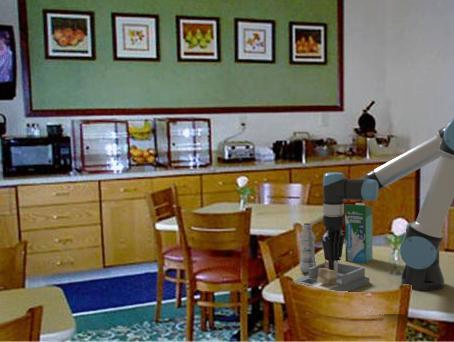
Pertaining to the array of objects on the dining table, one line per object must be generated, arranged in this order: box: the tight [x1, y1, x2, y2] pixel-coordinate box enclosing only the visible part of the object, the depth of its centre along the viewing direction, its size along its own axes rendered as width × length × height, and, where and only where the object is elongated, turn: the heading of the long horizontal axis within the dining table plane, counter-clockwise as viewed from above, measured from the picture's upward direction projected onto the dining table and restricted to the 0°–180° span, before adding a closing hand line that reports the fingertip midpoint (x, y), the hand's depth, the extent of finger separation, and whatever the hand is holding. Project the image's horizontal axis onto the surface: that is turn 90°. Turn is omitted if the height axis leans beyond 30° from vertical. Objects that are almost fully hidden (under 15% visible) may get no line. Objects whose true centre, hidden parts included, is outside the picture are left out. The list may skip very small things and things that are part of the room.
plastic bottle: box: [298, 222, 317, 274], centre depth 234 cm, size 6×7×20 cm
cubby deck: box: [293, 262, 370, 292], centre depth 218 cm, size 20×22×6 cm
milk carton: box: [344, 202, 373, 264], centre depth 251 cm, size 9×9×25 cm
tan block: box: [324, 260, 329, 269], centre depth 225 cm, size 4×4×5 cm
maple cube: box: [317, 268, 338, 285], centre depth 212 cm, size 5×5×5 cm
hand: (333, 277), depth 215 cm, fingers closed
